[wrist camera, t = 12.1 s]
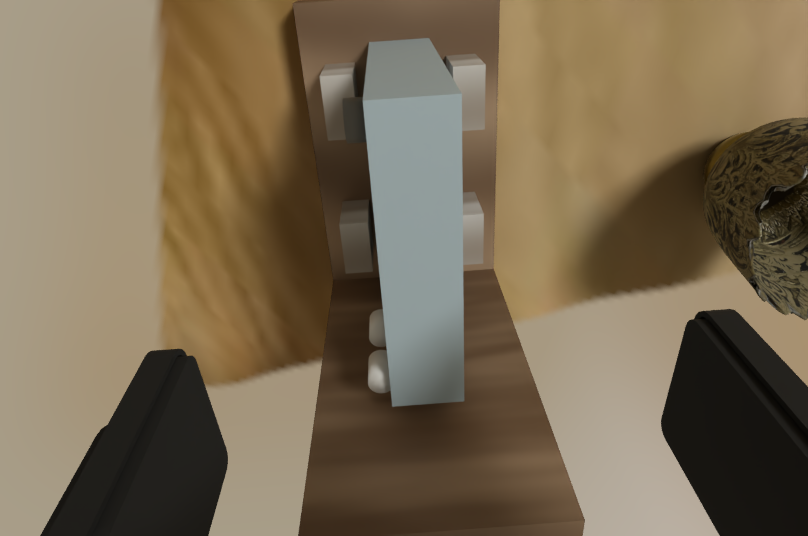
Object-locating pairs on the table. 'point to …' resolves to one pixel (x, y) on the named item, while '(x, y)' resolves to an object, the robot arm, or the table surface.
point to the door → (414, 219)
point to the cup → (763, 209)
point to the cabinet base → (361, 295)
